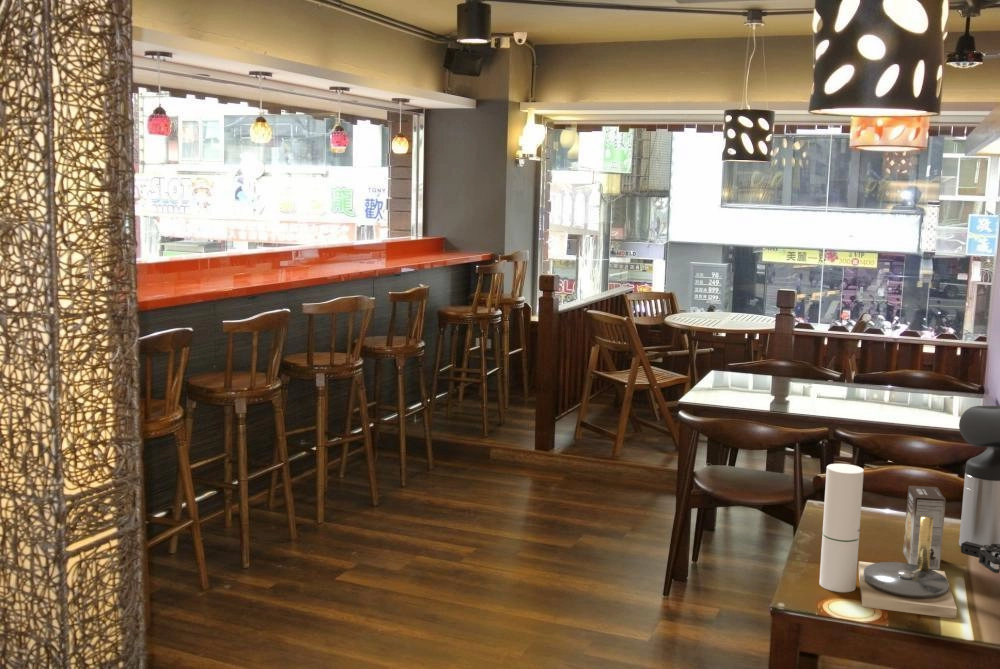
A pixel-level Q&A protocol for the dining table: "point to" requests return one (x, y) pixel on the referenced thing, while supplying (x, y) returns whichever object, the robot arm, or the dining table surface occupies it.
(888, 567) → the crank wheel
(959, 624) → the dining table surface
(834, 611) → the dining table surface
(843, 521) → the cylindrical container
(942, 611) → the stand
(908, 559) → the coffee box
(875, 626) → the dining table surface
